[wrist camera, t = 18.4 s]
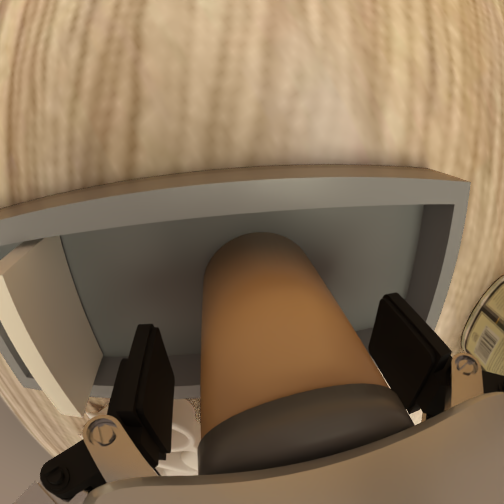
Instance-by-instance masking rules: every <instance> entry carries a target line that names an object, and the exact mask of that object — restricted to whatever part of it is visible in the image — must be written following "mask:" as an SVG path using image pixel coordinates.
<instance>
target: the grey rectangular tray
mask: <svg viewBox="0 0 504 504" xmlns="http://www.w3.org/2000/svg"><path fill="white" fill-rule="evenodd" d="M470 183H471V182H468V181H466V180H463V179H460V178H457V177H454V176H451V175H448V174H445V173H441V172H438V171H435V170H432V169H428V168H415V167H400V166H380V165H341V164H319V165H278V166H258V167H242V168H228V169H216V170H205V171H195V172H186V173H178V174H169V175H162V176H154V177H147V178H140V179H134V180H127V181H121V182H115V183H110V184H104V185H99V186H93V187H88V188H83V189H78V190H74V191H69V192H64V193H60V194H55V195H51V196H47V197H43V198H39V199H35V200H31V201H27V202H23V203H20V204H16V205H12V206H9V207H5V208H2V209H0V260H1V259H3V258H4V257H5V256H6V255H7V254H9V253H10V252H11V251H12V250H13V249H15V248H16V247H17V246H18V245H20V244H21V243H22V242H24V241H29V240H35V239H41V238H47V237H53V236H60V240H61V243H62V247H63V250H64V254H65V257H66V261H67V264H68V267H69V270H70V273H71V276H72V279H73V282H74V285H75V288H76V291H77V294H78V296H79V299H80V302H81V305H82V307H83V310H84V312H85V315H86V317H87V320H88V322H89V324H90V327H91V329H92V331H93V334H94V336H95V338H96V341H97V343H98V345H99V347H100V349H101V351H102V353H103V357H102V360H101V363H100V365H99V368H98V371H97V374H96V377H95V380H94V383H93V386H92V389H91V393H90V396H89V397H101V398H111V394H112V391H113V387H114V383H115V379H116V376H117V372H118V368H119V365H120V362H121V360H122V359H123V358H128V357H129V353H130V349H131V346H132V342H133V339H134V335H135V332H136V329H137V326H138V325H139V324H153V325H154V327H158V328H159V330H160V333H161V336H162V339H163V343H164V346H165V349H166V352H167V355H168V358H169V361H170V364H171V367H172V370H173V373H174V377H175V387H174V399H192V398H200V373H201V327H202V301H203V281H204V274H205V270H206V268H207V265H208V263H209V261H210V260H211V258H212V257H213V255H214V254H215V253H216V252H217V251H218V250H219V249H220V248H221V247H222V246H223V245H225V244H226V243H227V242H229V241H231V240H233V239H235V238H237V237H239V236H242V235H246V234H250V233H257V232H266V233H274V234H278V235H281V236H284V237H286V238H288V239H290V240H292V241H293V242H294V243H296V244H297V245H298V246H299V247H300V248H301V249H302V250H303V251H304V253H305V254H306V256H307V257H308V259H309V260H310V262H311V263H312V265H313V266H314V268H315V269H316V271H317V272H318V274H319V275H320V277H321V278H322V280H323V281H324V283H325V284H326V286H327V288H328V289H329V291H330V292H331V294H332V295H333V297H334V298H335V300H336V302H337V303H338V305H339V306H340V308H341V309H342V311H343V313H344V314H345V316H346V317H347V319H348V321H349V322H350V324H351V325H352V327H353V329H354V330H355V332H356V333H357V335H358V337H359V338H360V340H361V342H362V343H363V345H364V346H365V348H366V350H367V351H368V353H369V350H368V346H369V342H370V338H371V334H372V331H373V327H374V323H375V319H376V314H377V310H378V306H379V302H380V300H381V299H382V298H383V296H384V295H385V294H390V293H395V292H396V293H398V294H399V295H400V296H401V297H402V298H403V299H404V300H405V301H406V302H407V303H408V304H409V305H410V306H411V307H412V308H413V309H414V310H415V311H416V312H417V313H418V314H419V315H420V317H421V318H422V319H423V320H424V321H425V322H426V323H427V324H428V325H429V326H430V327H431V328H432V330H433V331H434V330H435V327H436V325H437V322H438V319H439V316H440V314H441V311H442V308H443V305H444V302H445V299H446V296H447V293H448V289H449V286H450V283H451V279H452V276H453V272H454V268H455V264H456V261H457V256H458V252H459V248H460V244H461V239H462V234H463V229H464V224H465V218H466V212H467V206H468V199H469V191H470ZM0 352H1V354H2V355H3V357H4V359H5V360H6V362H7V363H8V365H9V366H10V368H11V370H12V371H13V373H14V374H15V375H16V377H17V378H18V380H19V381H20V383H21V384H22V385H23V387H25V388H31V389H36V390H42V389H41V387H40V386H39V385H38V383H37V382H36V380H35V379H34V377H33V376H32V374H31V373H30V371H29V370H28V368H27V367H26V365H25V364H24V362H23V360H22V359H21V357H20V355H19V354H18V352H17V350H16V349H15V347H14V345H13V343H12V342H11V340H10V338H9V336H8V334H7V333H6V331H5V329H4V327H3V325H2V323H1V321H0ZM369 355H370V353H369ZM370 356H371V355H370ZM371 358H372V357H371ZM372 360H373V358H372ZM373 361H374V360H373ZM374 363H375V362H374ZM375 365H376V363H375ZM376 366H377V365H376ZM377 367H378V366H377ZM42 391H43V390H42Z"/></svg>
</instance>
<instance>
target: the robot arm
mask: <svg viewBox="0 0 504 504" xmlns="http://www.w3.org/2000/svg"><path fill="white" fill-rule="evenodd" d="M368 350H369V353H370V355H371V357H372V358H373V360H374V362H375V363H376V365H377V366H378V368H379V370H380V371H381V373H382V374H383V376H384V378H385V379H386V381H387V383H388V384H389V386H390V388H391V389H392V390H393V391H394V392H395V393H396V394H397V395H398V397H399V399H400V400H401V402H402V404H403V406H404V407H405V409H407V411H408V413H409V414H411V413H413V412H416V411H418V410H420V408H421V410H422V412H423V414H422V420H421V423H419V424H417V425H415V426H413V427H410V428H408V429H406V430H403V431H401V432H399V433H396V434H394V435H391V436H389V437H386V438H383V439H381V440H378V441H375V442H372V443H370V444H367V445H364V446H361V447H358V448H355V449H351V450H348V451H345V452H341V453H338V454H334V455H331V456H327V457H323V458H319V459H315V460H311V461H306V462H302V463H297V464H292V465H287V466H281V467H276V468H269V469H263V470H255V471H247V472H238V473H226V474H213V475H191V476H162V475H161V474H160V473H159V472H158V470H157V469H156V468H155V467H157V466H158V462H159V460H166V453H170V452H171V438H172V417H173V401H174V387H175V377H174V373H173V370H172V367H171V364H170V361H169V358H168V355H167V352H166V349H165V346H164V343H163V339H162V336H161V333H160V330H159V328H158V327H154V325H153V324H139V325H138V326H137V329H136V332H135V335H134V339H133V342H132V346H131V349H130V353H129V357H128V358H123V359H122V360H121V362H120V365H119V368H118V372H117V376H116V379H115V383H114V387H113V391H112V394H111V398H110V402H109V406H108V411H107V415H98V416H95V417H93V418H91V419H90V420H89V421H88V422H87V423H86V424H85V426H84V428H83V434H82V436H83V440H81V441H80V442H78V443H77V444H75V445H73V446H72V447H70V448H69V449H67V450H65V451H64V452H62V453H61V454H59V455H57V456H56V457H54V458H53V459H51V460H49V461H48V462H46V463H45V464H44V465H43V467H42V469H41V473H40V481H39V483H37V482H36V481H35V482H34V483H33V484H32V485H31V486H30V487H29V488H28V489H27V490H26V491H25V492H24V493H23V494H22V495H21V496H20V497H19V498H18V499H17V500H16V501H15V502H14V503H13V504H504V376H503V375H499V374H495V373H491V372H487V371H483V370H481V365H480V362H479V361H478V359H477V358H475V357H474V356H473V355H471V354H468V353H458V354H456V355H454V357H453V358H452V357H451V353H452V351H451V350H450V349H449V348H448V346H447V345H446V344H445V343H444V342H443V341H442V340H441V339H440V337H439V336H438V335H437V334H436V333H435V332H434V331H433V330H432V328H431V327H430V326H429V325H428V324H427V323H426V322H425V321H424V320H423V319H422V318H421V317H420V315H419V314H418V313H417V312H416V311H415V310H414V309H413V308H412V307H411V306H410V305H409V304H408V303H407V302H406V301H405V300H404V299H403V298H402V297H401V296H400V295H399V294H398V293H396V292H395V293H390V294H385V295H384V296H383V298H382V299H381V300H380V302H379V306H378V310H377V314H376V319H375V323H374V327H373V331H372V334H371V338H370V342H369V346H368Z"/></svg>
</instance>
